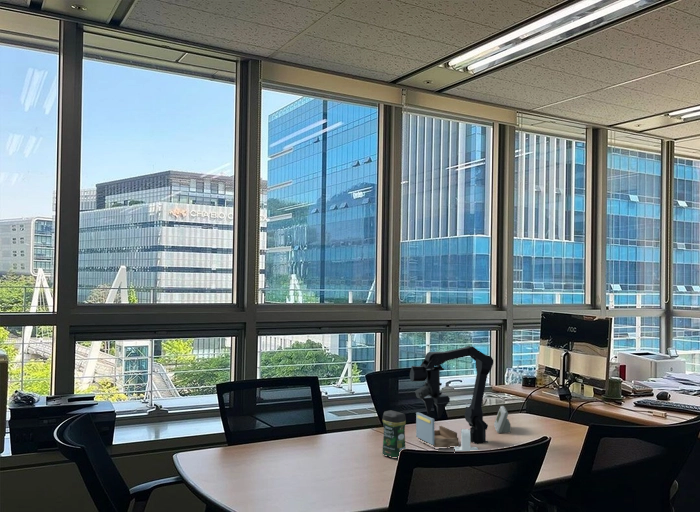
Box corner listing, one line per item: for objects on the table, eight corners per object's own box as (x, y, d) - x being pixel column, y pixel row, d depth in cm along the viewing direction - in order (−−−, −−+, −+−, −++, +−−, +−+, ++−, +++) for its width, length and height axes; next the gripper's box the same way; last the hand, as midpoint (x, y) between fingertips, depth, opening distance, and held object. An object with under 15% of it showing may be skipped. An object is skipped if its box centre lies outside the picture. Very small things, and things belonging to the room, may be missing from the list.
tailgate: (418, 436, 280) (418, 412, 281) (434, 444, 266) (434, 419, 267) (415, 436, 280) (415, 412, 280) (431, 445, 266) (431, 419, 266)
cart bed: (440, 438, 285) (440, 425, 285) (458, 447, 270) (458, 433, 270) (418, 440, 281) (418, 427, 281) (435, 449, 266) (435, 435, 266)
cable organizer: (453, 451, 264) (453, 427, 265) (477, 451, 263) (477, 428, 264) (454, 454, 259) (454, 430, 259) (478, 455, 258) (478, 431, 258)
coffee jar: (379, 455, 257) (379, 410, 257) (392, 452, 262) (393, 408, 262) (395, 460, 249) (395, 414, 250) (409, 457, 254) (409, 411, 255)
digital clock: (494, 425, 311) (494, 404, 311) (512, 427, 308) (512, 406, 308) (490, 433, 296) (490, 410, 296) (509, 434, 293) (509, 412, 293)
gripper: (407, 378, 281) (408, 413, 281) (427, 385, 264) (428, 421, 263) (429, 377, 285) (429, 411, 285) (450, 383, 268) (450, 419, 267)
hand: (433, 415), depth 275 cm, fingers open, 9 cm apart
